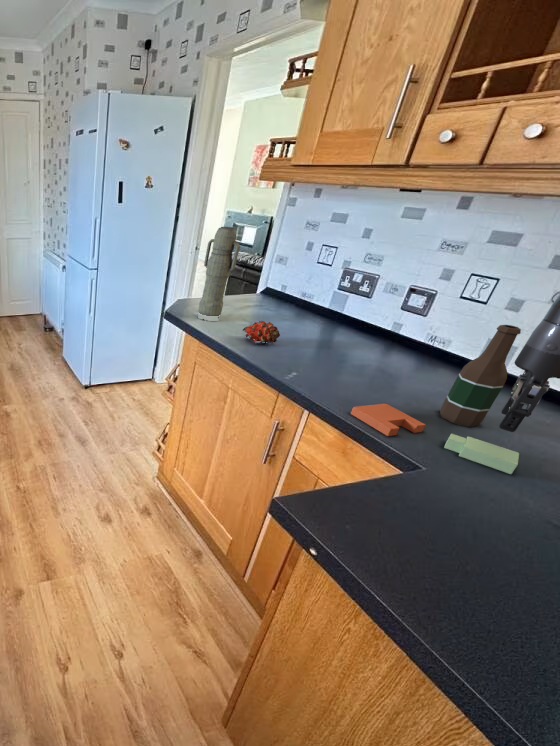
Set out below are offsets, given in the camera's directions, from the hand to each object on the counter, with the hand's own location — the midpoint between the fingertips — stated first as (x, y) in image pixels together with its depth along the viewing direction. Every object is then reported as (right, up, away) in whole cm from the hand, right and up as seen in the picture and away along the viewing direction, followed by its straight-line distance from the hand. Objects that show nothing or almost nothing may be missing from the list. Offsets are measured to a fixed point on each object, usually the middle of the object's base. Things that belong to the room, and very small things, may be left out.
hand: (507, 422), depth 83 cm
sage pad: (-1, -8, +5) cm, 9 cm away
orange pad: (-11, -2, +17) cm, 20 cm away
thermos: (-27, +34, +86) cm, 97 cm away
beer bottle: (+9, -1, +19) cm, 21 cm away
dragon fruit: (-18, +22, +62) cm, 69 cm away
